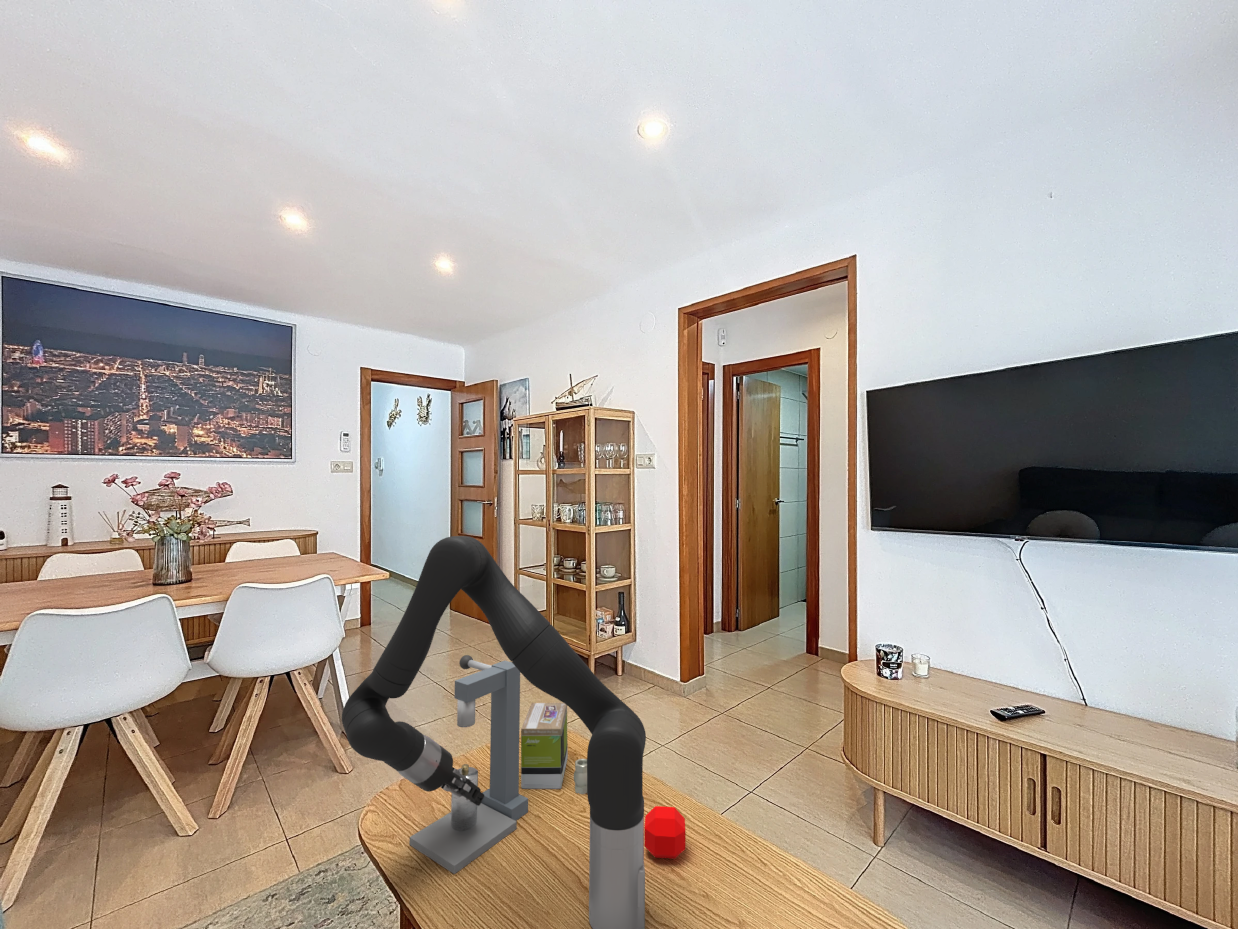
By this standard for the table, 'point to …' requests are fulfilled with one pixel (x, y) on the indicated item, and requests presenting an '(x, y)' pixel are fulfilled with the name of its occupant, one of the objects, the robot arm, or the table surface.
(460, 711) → the press
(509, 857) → the table surface
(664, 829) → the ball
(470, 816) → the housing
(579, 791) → the valve
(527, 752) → the tea box
